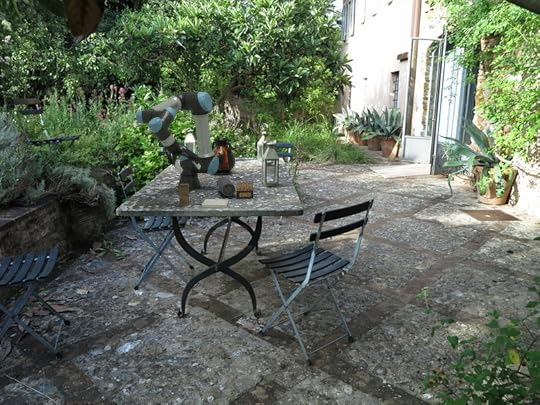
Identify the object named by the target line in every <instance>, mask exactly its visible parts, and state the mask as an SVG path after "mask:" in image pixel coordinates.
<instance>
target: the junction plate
mask: <svg viewBox="0 0 540 405" xmlns="http://www.w3.org/2000/svg"><path fill="white" fill-rule="evenodd" d="M229 202H230V199H229V198H228V199H227V198H226V199H224V198H220V199H219V198H217V199H215V198H205V199H204V201H203V202H202V204H201V208H211V209H212V208H219V209H220V208H221V209H222V208H227V206H229V205H228V204H229Z"/></svg>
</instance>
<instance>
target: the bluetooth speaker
mask: <svg viewBox="0 0 540 405" xmlns="http://www.w3.org/2000/svg"><path fill="white" fill-rule="evenodd" d="M216 186H217V188H218V189H219V192H221V194H222V195H224V196H225V197H232V196H234V194H236V186H235V185H234V183H233V182H232V181H231V179H230V178H228V177H226V176H220V177H218V179H217V180H216Z"/></svg>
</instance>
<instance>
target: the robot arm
mask: <svg viewBox="0 0 540 405" xmlns="http://www.w3.org/2000/svg"><path fill="white" fill-rule="evenodd" d="M212 109H213V100H212V96H211V95H210V94H209V92H205V91H183V92H179V93H177V94H173V95H172V96H170V97H169V98H168V99H167V100H164V101H163V102H160V103H158V104H156V105H154V106H151V107H149V108H147V109H139V110H137V111H136V112H135V120H136V122H137V123H138V124H140V125H141V124H143V125H147V126H148V128H149V130H151V132H152V133H153V135H154V136H155V137H156V138H157V140H158V141H160V143H161V144H162V145H163V147H164V148H165V152H164V153H165V155H166V157H167V158H166V159H167V162H168V165H170V166H171V165H172V166H174V168H175V169H176V170H177V171H178V172H179V175H180V176H179V182H178V184H177V188H178V189H179V184H189V191H190V190H191V191H192V190H193V191H194V190H198V189H201V186H202V185H201V182H200V179H199V174H203V175H214V173H216V171H217V169H218V166H219V159H218V157H215V153H214V152H213V151H212V140H211V133H210V124H209V115H210V113H211V112H210V111H211V110H212ZM180 111H187V112H188V111H189V112H190V115H191V116H192V117H193V118H194V126H195V133H196V140H197V142H196V143H197V148H198V153H196V152H194V151H192V149H191V150H190V149H189V148H188V147H187V146H186V145H183V146H180V143H179V141H178V140H177V138H176V137H174V135H173V134H172V132H171V131H170V130H169V128H170V127H171V125H172V123H173V122H174V121H175V119H176V116H177V112H180ZM178 156H179V163H178V162H177V161H176V158H177V157H178Z"/></svg>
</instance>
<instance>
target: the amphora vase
mask: <svg viewBox="0 0 540 405" xmlns="http://www.w3.org/2000/svg"><path fill="white" fill-rule="evenodd" d="M212 140H213V142H211V147H212V151H213V152H214V153H215V157H218V159H219V166H218V169H217V171H216V173H214V174H213V175H214V176H229V175H232V174H233V171H232V170H233V169H234V168H235V166H236V157H235V154H234V152H233V150H232V145H231V142H229V141H230V138H228V137H215V138H213V139H212Z"/></svg>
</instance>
